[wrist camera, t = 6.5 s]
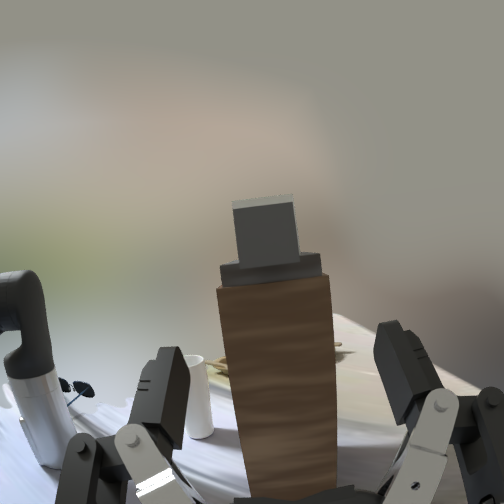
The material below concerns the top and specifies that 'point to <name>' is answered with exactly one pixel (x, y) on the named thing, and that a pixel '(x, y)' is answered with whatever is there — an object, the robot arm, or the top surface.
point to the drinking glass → (198, 400)
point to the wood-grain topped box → (282, 374)
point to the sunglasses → (77, 389)
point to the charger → (266, 231)
